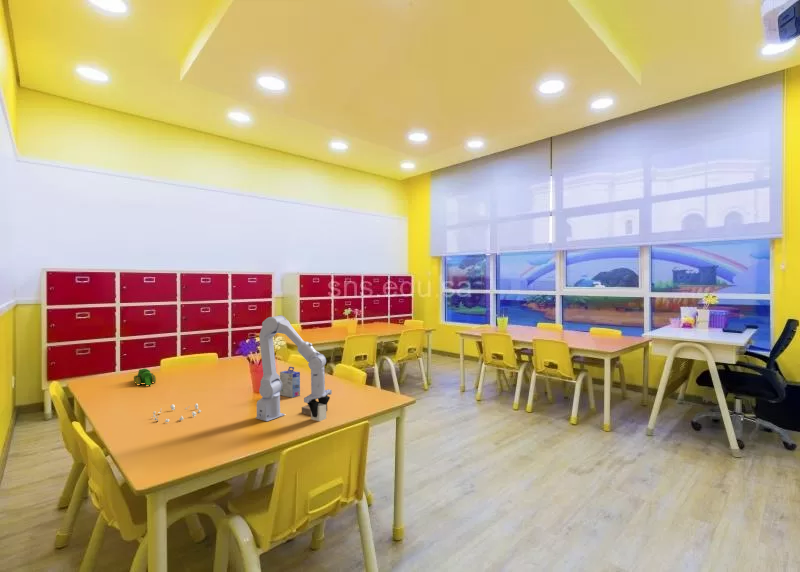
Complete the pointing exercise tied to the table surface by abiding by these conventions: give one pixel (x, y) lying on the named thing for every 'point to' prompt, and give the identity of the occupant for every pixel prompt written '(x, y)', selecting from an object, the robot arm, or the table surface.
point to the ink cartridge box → (290, 383)
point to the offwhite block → (320, 413)
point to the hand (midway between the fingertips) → (318, 415)
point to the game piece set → (174, 409)
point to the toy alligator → (144, 377)
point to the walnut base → (307, 410)
